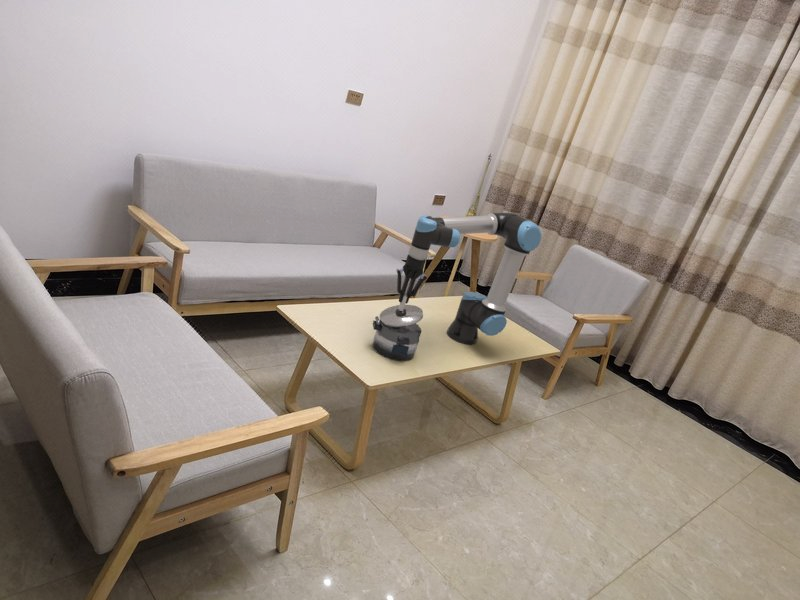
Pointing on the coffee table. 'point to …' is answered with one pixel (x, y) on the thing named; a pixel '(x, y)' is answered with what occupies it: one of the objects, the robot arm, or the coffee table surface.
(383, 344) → the cooker
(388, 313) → the lid
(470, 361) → the coffee table surface
